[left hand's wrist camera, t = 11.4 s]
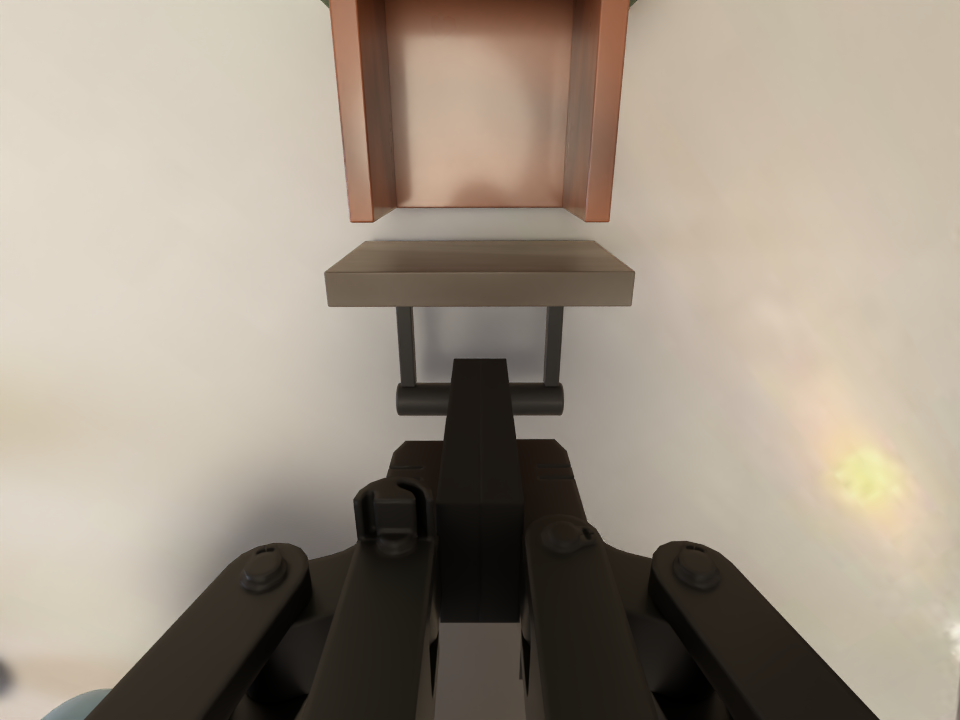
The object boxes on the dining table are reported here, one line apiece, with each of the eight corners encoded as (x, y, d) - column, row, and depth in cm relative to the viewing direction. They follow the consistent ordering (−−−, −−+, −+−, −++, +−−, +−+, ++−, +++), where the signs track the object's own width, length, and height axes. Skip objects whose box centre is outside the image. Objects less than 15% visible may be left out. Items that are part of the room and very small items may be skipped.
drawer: (583, 383, 25) (614, 454, 19) (377, 384, 25) (345, 454, 19) (643, -355, 16) (742, -661, 10) (313, -353, 16) (212, -661, 10)
